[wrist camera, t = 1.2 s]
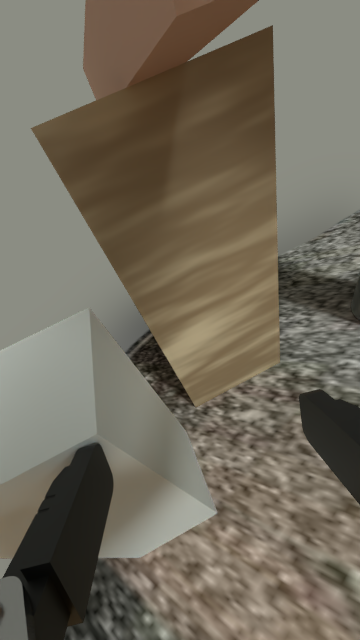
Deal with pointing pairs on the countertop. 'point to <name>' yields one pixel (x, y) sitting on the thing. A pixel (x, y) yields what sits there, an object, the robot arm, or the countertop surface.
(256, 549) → the countertop surface
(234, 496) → the countertop surface
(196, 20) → the terracotta bar
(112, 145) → the oak stand
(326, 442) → the robot arm
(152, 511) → the grey block
